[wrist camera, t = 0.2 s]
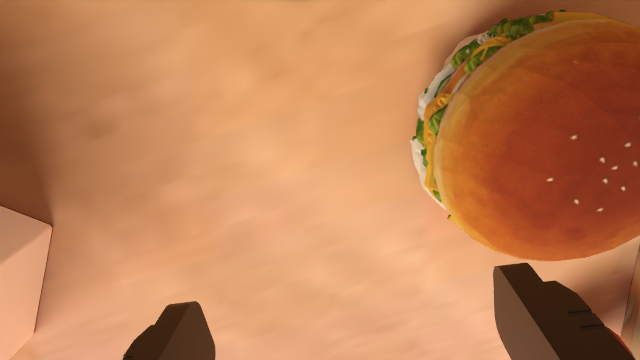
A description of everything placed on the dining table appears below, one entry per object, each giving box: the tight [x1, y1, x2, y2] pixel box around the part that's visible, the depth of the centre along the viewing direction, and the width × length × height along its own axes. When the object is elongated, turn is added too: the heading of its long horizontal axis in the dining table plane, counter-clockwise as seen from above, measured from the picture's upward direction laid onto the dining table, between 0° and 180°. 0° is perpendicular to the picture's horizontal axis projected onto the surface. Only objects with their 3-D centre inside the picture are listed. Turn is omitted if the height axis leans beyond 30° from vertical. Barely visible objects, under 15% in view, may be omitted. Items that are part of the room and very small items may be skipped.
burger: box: [410, 10, 640, 261], centre depth 21 cm, size 13×14×10 cm
